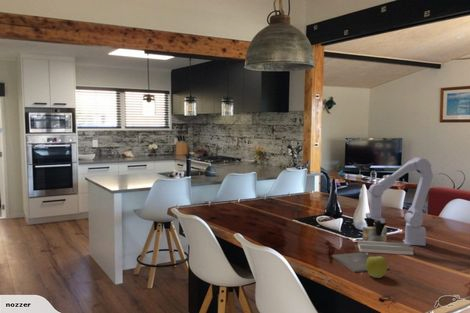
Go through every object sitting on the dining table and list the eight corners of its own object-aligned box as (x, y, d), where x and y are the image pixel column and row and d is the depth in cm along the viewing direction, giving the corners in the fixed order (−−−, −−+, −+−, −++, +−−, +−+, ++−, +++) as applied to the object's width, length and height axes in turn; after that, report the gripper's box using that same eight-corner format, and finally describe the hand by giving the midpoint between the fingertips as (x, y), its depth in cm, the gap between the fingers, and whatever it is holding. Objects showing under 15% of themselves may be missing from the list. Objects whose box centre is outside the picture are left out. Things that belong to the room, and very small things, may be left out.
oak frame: (382, 240, 215) (383, 225, 214) (386, 242, 212) (386, 227, 211) (362, 242, 212) (362, 227, 211) (365, 244, 209) (366, 228, 208)
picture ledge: (408, 248, 201) (408, 242, 201) (413, 254, 192) (413, 248, 191) (357, 245, 206) (358, 239, 206) (360, 251, 196) (360, 245, 196)
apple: (389, 278, 159) (382, 253, 160) (369, 281, 162) (362, 257, 163) (390, 272, 167) (383, 248, 167) (370, 275, 170) (363, 251, 170)
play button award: (354, 270, 169) (332, 254, 189) (354, 273, 169) (332, 258, 189) (389, 266, 173) (363, 252, 192) (388, 270, 173) (363, 255, 192)
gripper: (360, 205, 217) (360, 230, 218) (376, 210, 203) (375, 237, 204) (372, 204, 218) (371, 229, 219) (389, 210, 204) (388, 237, 205)
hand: (374, 233), depth 212 cm, fingers open, 7 cm apart
